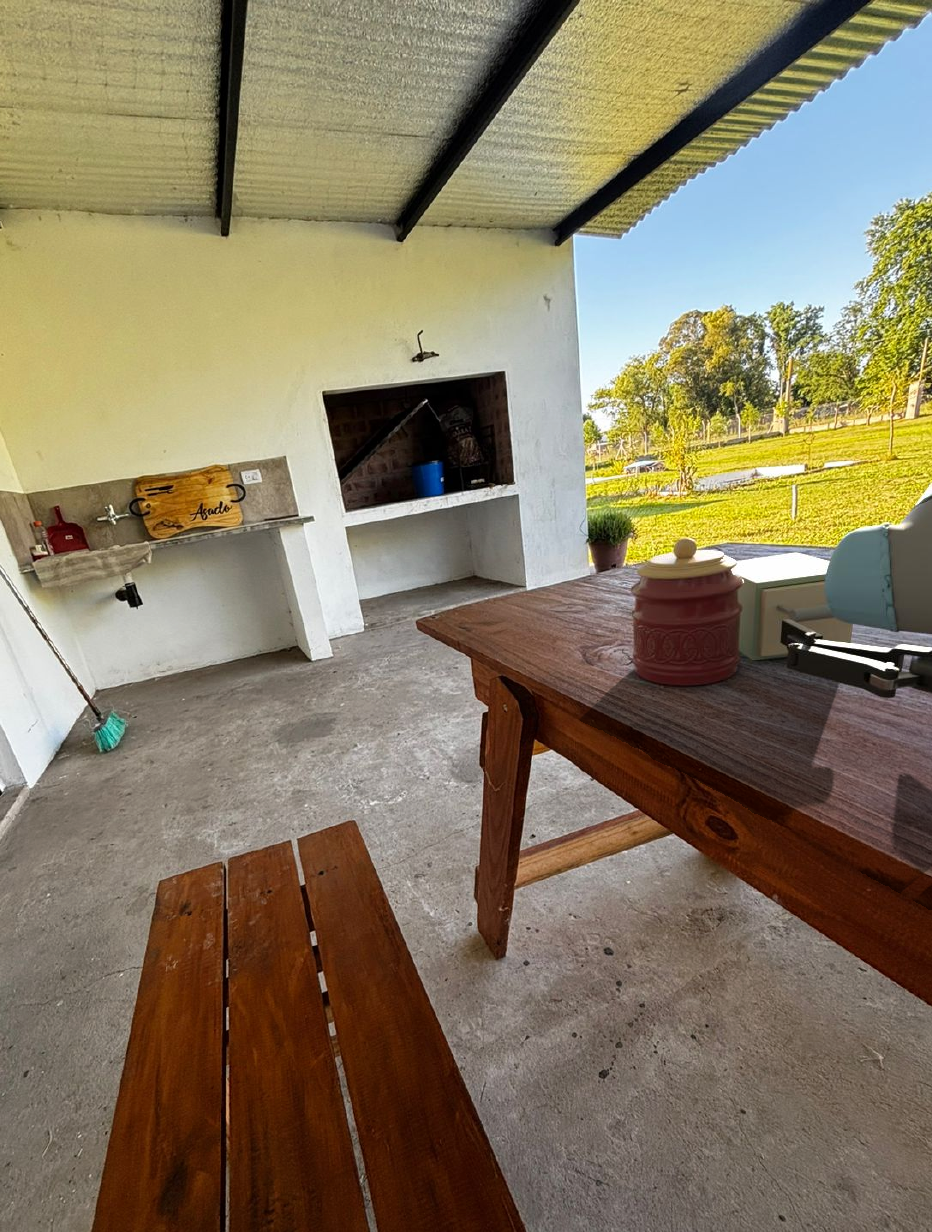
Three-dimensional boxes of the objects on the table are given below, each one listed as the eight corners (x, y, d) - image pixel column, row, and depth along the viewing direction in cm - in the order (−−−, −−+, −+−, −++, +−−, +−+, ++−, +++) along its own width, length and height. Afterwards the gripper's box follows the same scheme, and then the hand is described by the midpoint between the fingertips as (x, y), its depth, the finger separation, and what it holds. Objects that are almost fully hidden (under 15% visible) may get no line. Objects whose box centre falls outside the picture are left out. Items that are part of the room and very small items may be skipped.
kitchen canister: (761, 665, 69) (770, 527, 62) (694, 696, 64) (697, 550, 58) (675, 647, 80) (675, 528, 74) (612, 672, 75) (607, 548, 69)
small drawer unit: (849, 650, 68) (859, 569, 65) (752, 660, 70) (756, 583, 67) (790, 620, 82) (796, 552, 78) (710, 630, 84) (712, 564, 80)
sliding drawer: (876, 659, 62) (887, 587, 59) (780, 670, 64) (786, 600, 61) (794, 619, 79) (799, 561, 76) (720, 628, 81) (722, 572, 78)
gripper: (839, 758, 42) (729, 667, 62) (1229, 728, 38) (977, 640, 57) (850, 672, 39) (731, 605, 59) (1271, 628, 35) (992, 571, 54)
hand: (852, 622), depth 58 cm, fingers open, 13 cm apart
